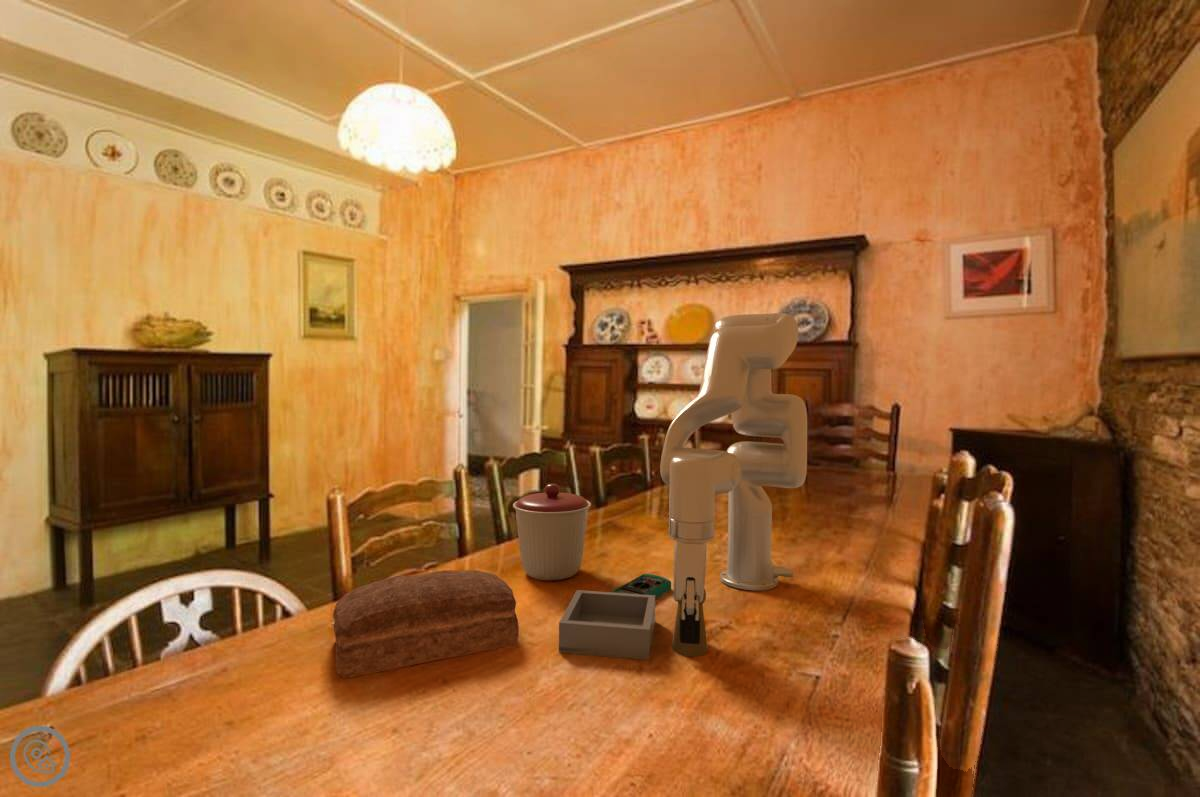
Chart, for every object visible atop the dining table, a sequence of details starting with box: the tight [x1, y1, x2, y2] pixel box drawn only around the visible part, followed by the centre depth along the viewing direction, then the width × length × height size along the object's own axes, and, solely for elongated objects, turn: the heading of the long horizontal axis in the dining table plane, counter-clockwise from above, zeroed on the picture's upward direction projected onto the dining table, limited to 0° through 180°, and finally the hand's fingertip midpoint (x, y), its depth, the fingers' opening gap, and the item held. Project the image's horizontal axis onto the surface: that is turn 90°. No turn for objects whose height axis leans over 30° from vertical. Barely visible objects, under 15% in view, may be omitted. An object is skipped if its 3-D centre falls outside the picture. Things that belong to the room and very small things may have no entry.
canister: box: [512, 483, 592, 581], centre depth 134 cm, size 18×18×21 cm
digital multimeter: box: [610, 573, 672, 600], centre depth 121 cm, size 7×15×3 cm, turn 146°
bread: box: [332, 569, 520, 679], centre depth 100 cm, size 17×29×11 cm, turn 116°
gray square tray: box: [558, 589, 656, 661], centre depth 102 cm, size 15×15×5 cm
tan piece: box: [671, 582, 709, 657], centre depth 98 cm, size 6×6×11 cm
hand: (689, 632), depth 98 cm, fingers open, 6 cm apart
